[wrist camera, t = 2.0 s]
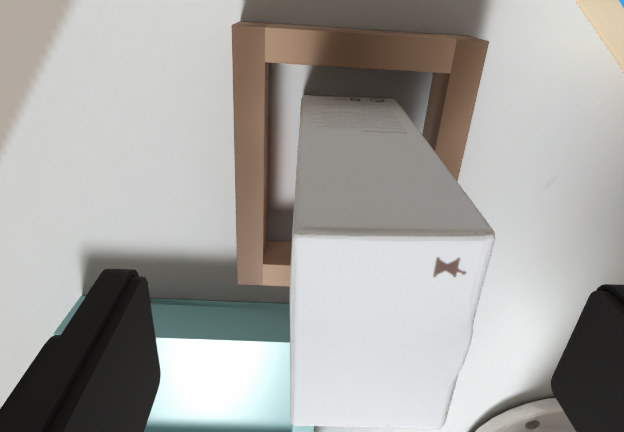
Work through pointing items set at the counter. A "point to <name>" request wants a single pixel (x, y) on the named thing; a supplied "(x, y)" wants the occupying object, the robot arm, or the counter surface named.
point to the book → (607, 24)
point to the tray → (220, 366)
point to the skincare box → (378, 270)
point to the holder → (340, 53)
